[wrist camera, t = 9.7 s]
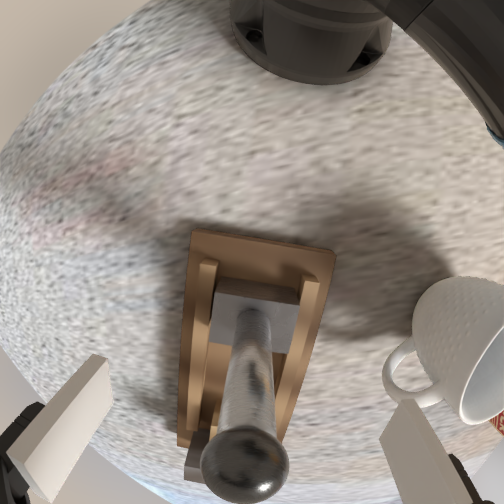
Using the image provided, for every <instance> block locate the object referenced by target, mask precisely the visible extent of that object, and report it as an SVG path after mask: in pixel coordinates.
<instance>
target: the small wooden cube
mask: <svg viewBox="0 0 504 504" xmlns="http://www.w3.org/2000/svg"><path fill="white" fill-rule="evenodd" d="M221 405H222V400H216V404H215V409H214V414H213V419H212V424H211V430H210V438H209V441H210V440H211V439H212V438H213V437H214V436H216V433H217V427H218V422H219V416H220V410H221Z"/></svg>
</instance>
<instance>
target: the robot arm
mask: <svg viewBox="0 0 504 504" xmlns="http://www.w3.org/2000/svg"><path fill="white" fill-rule="evenodd" d="M230 18H231V23H232V29H233V32H234V35H235V38H236V40H237V42H238V43H239V45H240V46H241V48H242V49H243V50H244V52H245V53H246V54H247V55H248V56H249V57H250V58H251V59H252V60H254V61H255V62H256V63H257V64H259V65H260V66H262V67H263V68H265V69H266V70H268V71H270V72H272V73H274V74H276V75H278V76H281V77H283V78H286V79H289V80H293V81H296V82H301V83H306V84H314V85H334V84H340V83H345V82H349V81H352V80H355V79H357V78H359V77H361V76H363V75H364V74H366V73H367V72H368V71H370V70H371V69H372V68H373V67H374V66H375V65H376V64H377V63H378V62H379V60H380V59H381V58H382V57H383V55H384V54H385V52H386V50H387V48H388V46H389V43H390V39H391V32H392V25H393V22H395V23H396V24H397V25H398V26H399V27H401V28H402V29H403V30H404V32H406V33H407V34H408V35H409V36H410V37H411V38H412V39H413V40H414V41H416V42H417V43H418V44H419V45H420V46H421V47H422V48H423V49H424V50H425V51H426V52H427V53H428V54H429V55H430V56H431V57H432V58H433V59H434V60H435V61H436V62H437V63H438V64H439V65H440V66H441V67H442V68H443V69H444V70H445V71H446V73H447V74H448V75H449V76H450V77H451V78H452V79H453V80H454V81H455V83H456V84H457V85H458V86H459V87H460V88H461V90H462V91H463V92H464V93H465V95H466V96H467V97H468V98H469V100H470V101H471V102H472V104H473V105H474V106H475V108H476V109H477V110H478V112H479V113H480V114H481V116H482V117H483V119H484V120H485V123H486V126H487V130H488V132H489V133H490V135H491V136H492V137H493V139H494V140H495V141H496V142H497V143H498V144H500V145H501V146H502V147H503V149H504V0H231V3H230ZM112 405H113V397H112V390H111V382H110V374H109V365H108V358H105V357H102V356H99V355H96V354H92V355H91V356H90V357H89V359H88V360H87V361H86V362H85V363H84V364H83V365H82V366H81V367H80V368H79V369H78V370H77V371H76V373H75V374H74V375H73V376H72V377H71V378H70V379H69V380H68V381H67V382H66V383H65V385H64V386H63V387H62V388H61V389H60V390H59V391H58V392H57V393H56V394H55V396H54V397H53V398H52V399H51V400H50V401H49V402H48V403H47V405H46V406H45V405H43V404H41V403H39V402H36V403H33V404H31V405H29V406H27V407H26V408H25V409H24V411H22V413H21V414H20V416H18V417H17V418H16V419H15V420H14V422H12V424H11V425H10V426H9V427H8V428H7V429H6V430H5V431H4V432H3V433H2V435H1V436H0V504H30V500H29V496H28V493H27V490H28V489H29V487H30V488H31V489H32V490H33V492H34V493H35V494H36V495H38V496H39V497H41V498H43V499H44V500H46V501H48V502H49V503H51V504H52V502H53V501H54V499H55V497H56V495H57V494H58V492H59V490H60V489H61V487H62V485H63V483H64V482H65V480H66V479H67V477H68V475H69V474H70V472H71V470H72V468H73V467H74V465H75V464H76V462H77V460H78V459H79V457H80V455H81V454H82V452H83V451H84V449H85V447H86V446H87V444H88V443H89V441H90V439H91V438H92V436H93V435H94V433H95V431H96V430H97V428H98V427H99V425H100V424H101V422H102V420H103V419H104V417H105V416H106V414H107V413H108V411H109V409H110V408H111V406H112ZM379 440H380V443H381V446H382V448H383V451H384V453H385V456H386V458H387V461H388V464H389V466H390V469H391V472H392V474H393V477H394V480H395V483H396V485H397V488H398V491H399V494H400V496H401V499H402V502H403V504H494V503H493V502H491V501H487V500H485V501H482V499H481V498H480V496H479V494H478V492H477V491H476V489H475V487H474V485H473V483H472V481H471V480H470V478H469V477H468V474H467V472H466V471H465V470H464V467H463V465H462V464H461V462H460V460H459V459H457V458H456V457H455V456H454V455H453V454H449V455H448V454H447V453H446V451H445V449H444V447H443V446H442V444H441V442H440V441H439V439H438V437H437V435H436V434H435V432H434V430H433V429H432V427H431V425H430V424H429V422H428V420H427V419H426V417H425V415H424V414H423V412H422V410H421V409H420V407H419V406H418V404H417V402H416V401H415V399H401V401H400V403H399V405H398V407H397V409H396V410H395V412H394V414H393V416H392V418H391V419H390V421H389V423H388V425H387V426H386V428H385V430H384V431H383V433H382V435H381V436H380V438H379Z"/></svg>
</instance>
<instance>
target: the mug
mask: <svg viewBox="0 0 504 504" xmlns="http://www.w3.org/2000/svg"><path fill="white" fill-rule="evenodd" d="M415 350H416V351H417V356H418V357H419V359H420V363H421V364H422V366H423V367H424V371H425V372H426V373H427V375H428V377H429V379H430V380H431V381H432V382H433V385H431V386H430V387H428V388H427V389H424V390H422V391H418V392H408V391H405V390H402V389H400V388H399V387H397V386H396V385H395V384H394V382H393V380H392V374H393V372H394V370H395V368H396V366H397V365H398V364H399V363H400V361H401V360H402V359H403V358H404V357H406V356H407V355H408V354H410V353H412V352H413V351H415ZM382 380H383V384H384V387H385V390H386V392H387V393H388V395H389V396H390V397H391V398H392V399H393V400H394V401H395V402H397V403H398V404H399V403H400V401H401V399H415V401H416V402H417V404H418V406H419V407H420V408H421V407H427V406H430V405H433V404H436V403H438V402H440V401H441V400H443V399H445V400H446V402H447V403H448V405H449V406H450V407H451V408H452V409H453V410H454V412H455V413H456V414H457V415H458V417H459V418H460V419H461V420H462V421H463V422H464V423H466V424H471V425H474V424H480V423H483V422H485V421H487V420H490V419H491V418H493V417H495V416H496V415H498V414H499V413H501V412H502V411H503V410H504V285H501V284H498V283H496V282H494V281H489V280H487V279H483V278H481V279H480V278H477V277H470V276H466V277H462V276H458V277H451V278H446V279H444V280H441V281H439V282H437V283H435V284H433V285H432V286H430V287H429V288H428V289H427V290H426V291H425V292H424V293H423V294H422V296H421V297H420V299H419V300H418V302H417V304H416V307H415V309H414V313H413V318H412V336H410V337H409V338H408V339H406V340H405V341H404V342H403V343H401V344H400V345H399V346H398V347H397V348H396V349H395V350H394V351H393V352H392V353H391V354H390V355H389V357H388V358H387V360H386V362H385V364H384V366H383V370H382Z"/></svg>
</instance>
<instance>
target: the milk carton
mask: <svg viewBox="0 0 504 504" xmlns="http://www.w3.org/2000/svg"><path fill="white" fill-rule="evenodd" d="M488 421H489V422H490V423H491V424H492V425H493V426H494V427H495V428H496V430H497V431H498V432H499V433H500V434H501V435H502V436H503V437H504V410H503V411H502V412H501V413H499V414H498V415H496V416H495V417H493V418H491V419H490V420H488Z"/></svg>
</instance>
